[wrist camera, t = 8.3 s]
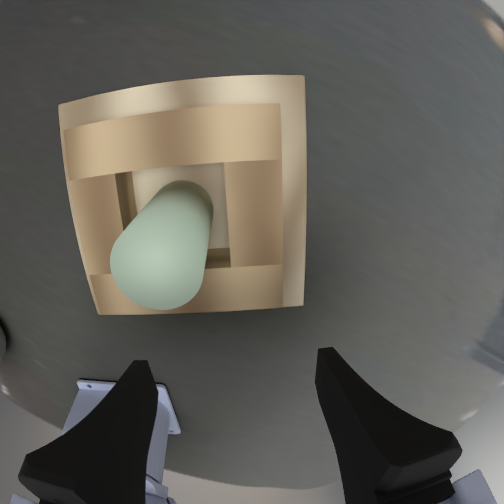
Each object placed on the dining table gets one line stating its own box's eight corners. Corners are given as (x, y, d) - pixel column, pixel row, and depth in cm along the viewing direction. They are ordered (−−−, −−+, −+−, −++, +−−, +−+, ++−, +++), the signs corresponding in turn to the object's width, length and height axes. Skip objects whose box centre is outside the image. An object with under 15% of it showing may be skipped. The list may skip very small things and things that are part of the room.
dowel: (162, 245, 21) (130, 316, 13) (144, 189, 19) (96, 235, 12) (220, 232, 20) (214, 300, 13) (204, 173, 19) (187, 212, 12)
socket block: (100, 311, 23) (85, 337, 20) (61, 105, 16) (34, 105, 13) (302, 302, 23) (312, 329, 20) (302, 76, 17) (316, 67, 14)
